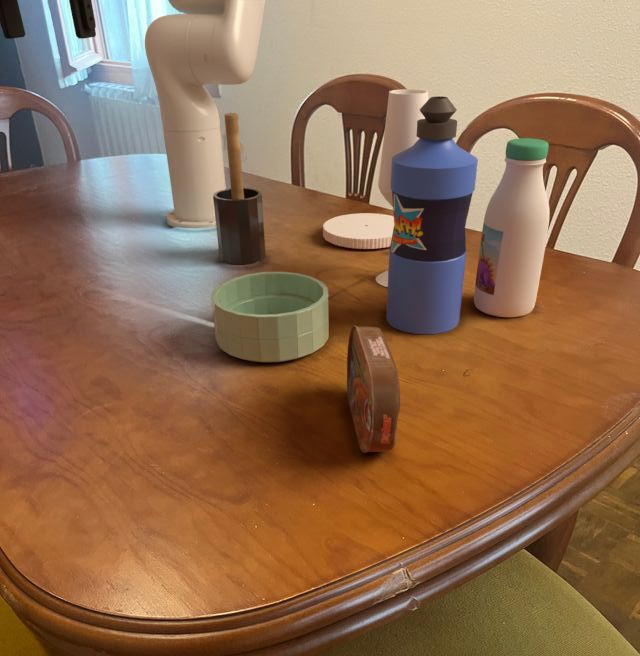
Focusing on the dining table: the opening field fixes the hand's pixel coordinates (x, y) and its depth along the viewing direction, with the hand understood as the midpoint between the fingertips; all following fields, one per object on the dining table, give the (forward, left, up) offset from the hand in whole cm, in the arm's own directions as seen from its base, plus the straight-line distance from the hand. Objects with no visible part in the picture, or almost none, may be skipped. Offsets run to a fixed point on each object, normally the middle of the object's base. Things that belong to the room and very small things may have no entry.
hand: (50, 37), depth 77 cm
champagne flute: (-24, +35, -31) cm, 52 cm away
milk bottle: (-23, +51, -31) cm, 64 cm away
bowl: (+1, +32, -30) cm, 44 cm away
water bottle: (-14, +44, -31) cm, 55 cm away
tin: (+10, +51, -31) cm, 60 cm away
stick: (-18, +11, -30) cm, 37 cm away
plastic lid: (-36, +22, -31) cm, 52 cm away
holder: (-18, +11, -30) cm, 37 cm away
